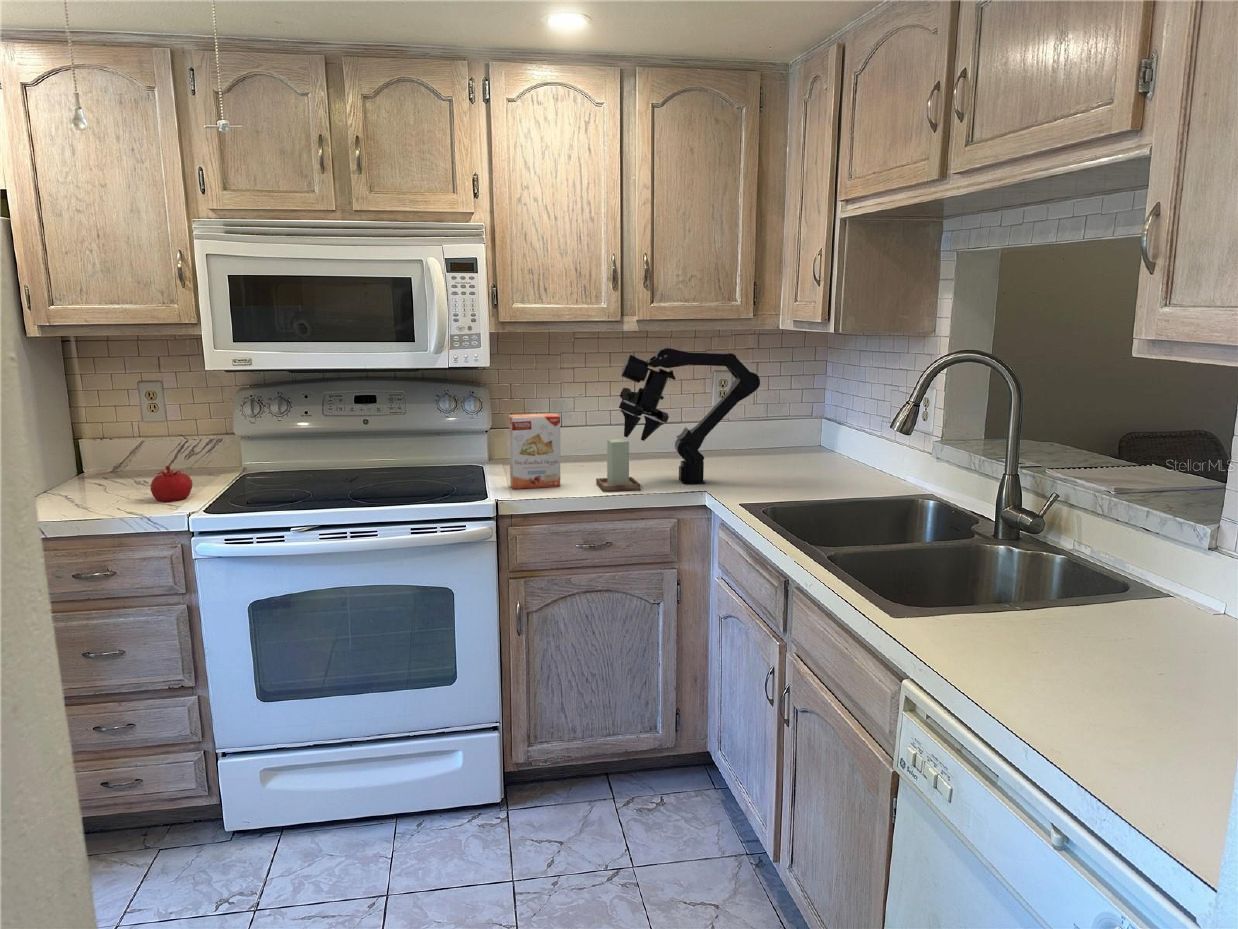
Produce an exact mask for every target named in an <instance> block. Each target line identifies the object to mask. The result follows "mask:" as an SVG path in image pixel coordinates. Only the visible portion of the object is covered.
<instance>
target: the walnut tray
mask: <svg viewBox="0 0 1238 929" xmlns="http://www.w3.org/2000/svg"><path fill="white" fill-rule="evenodd" d="M595 485H596V486H597V487H598V488H599V489H600V490H601V491H602V492H603V493H611V492H612V493H613V492H635V491H637V492H638V491H641V483H640V482H638V480H637V479H635V478H634V476H629V484H623V485H608V484H607V477H600V478H599V477H597V478H596V480H595Z"/></svg>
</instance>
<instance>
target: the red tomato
mask: <svg viewBox="0 0 1238 929" xmlns="http://www.w3.org/2000/svg"><path fill="white" fill-rule="evenodd" d="M165 469H166V471H164V470H162V471H160V472H157V473H156V476H155V477H153V479H152V480H151V482H150V492H151V495H152V497H153V498H154V499H155V500H157V501H159V502H163V503H166V502H175V501H180V500H185V499H186V498H188V497H190V494H191V492H192V488H193V483H194V482H193V480H192V478H191V476H189V475H188V474H185V471H184V470H181V469H180V470H177V471H176V470H175V469H172V470H171V465H165Z"/></svg>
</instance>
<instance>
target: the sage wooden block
mask: <svg viewBox="0 0 1238 929" xmlns="http://www.w3.org/2000/svg"><path fill="white" fill-rule="evenodd" d="M606 447H607V448H606V468H607V469H606V472H607V473H606V476H607V477H606V478H607V484H608V485H623V484H629V477H630V441H628V440H626V439H624V438H614V439H607V440H606Z"/></svg>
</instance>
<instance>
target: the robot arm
mask: <svg viewBox="0 0 1238 929" xmlns="http://www.w3.org/2000/svg"><path fill="white" fill-rule="evenodd" d="M683 366H709V367H711V366H712V367H714V366H715V367H726V369H727V370H728V371H729V373H730V374H731V375H732V377H734V380H733V382H732V383H731V385H730V387H729V389H728V391H727V393H726V394H725V395H724V396H723V397H722V398H721V399H720V400H719V401H718V402H717V403H716V404H715V405H714V406H713V407H712V408H711V409H710V411H708V413H707V414H706V415H704V417H703V418H702V419H701V420H700V421H699V422H698V423H697V424H696V425H694V427H692V428H691V429H689V428H687V427H684V428H683V429H682V431H681V433H680V434H678V435H676V440H675V441H674V449H675V451H676V452H677V454H678V455H679V456H680V457H681V459H682V460H680V465H678V481H679V482H681V483H682V484H684V485H695V484H697V485H698V484H706V481H705V479H704V474H705V473H704V464H705V462H704V460H705V456H704V455H703V454H702V453H701V452H700V451H699V449H700V448H701V446H702V444H703V443H704V441H705V439H706V437H707V436H708V434H710V433H711V431H713V429H714V428H715V427H716V426H717V425H719V423H720V422H721V421H722V420H723V419H724V418H725V417H726V416H727V415H728V413H729V412H731V410H732V409H733V408H734V407H735V406H736V405H737V404H738V403H739V402H741V401H743V400H745V399H746V398H747V397H749V396H751V395H752V394H753V393H754V392H756V391H757V390H758V389H759V388H760V386H761V379H760V377H759V375H758V374H757V373H755V372H752V371H750V370H749V369H748V368H747V367H746V366H745V365H744V364H743V362H741V361H740V359H738V358H737V355H736V354H734V353H732V352H724V353H723V352H722V353H721V352H701V351H699V352H698V351H684V350H681V349H676V348H671V347H668V346H667V347H666V346H662V347H660V348H659V349H657V351H656V352H655V355H654V356H652V357H650V358H648V359H647V360H644V359H641V358H639V357H636V356H635V355H633V354H629V356H628V357H627V359H626V362H625V363H624V366H623V367H622V371H621V374H620V377H622V378H623V379H624V378H625V379H627V380H630V381H632V382H635V383H638V384H639V383H641V381H642V382H644V385H643V387H639V389H638V390H637V391H635V392H634V391H632V390H631V388H628V387H622V389H621V392H620V394H619V398H620V399H621V401H620V402H619V406H618V408H619V409H620V412H621V413H622V415H623V417H624V428H623V437H625V438H629V436H630V435H631V434H632V432H633V430H634V429H635V428H636V426H638V424H639V423H640V421H641V419H642V417H641V416H642V415H643V417H644V420H645V422H644V426H643V429H642V430H643V431H642V433H641V435H640V436H641V437H640V440H641V441H642V442H645V441H646V440H647V439H648V438H649V437H650V436H651V435H652V434H653V433H654V432H655V431H656V430H658V429H659V428H660V427H661V426H663V425H664V423H666V424H667V422H668V420H669V418H670V417H669V413H667V412H665V411H663V410H661V409H659V408H657V407H658V405H659V403H660V400H662V401H663V400H664V398H665V396H664V395H663V392H664V390H665V387H666V385H667V382H668V380H669V379H671V380H673V381H675V380H676V379H677V378H676V377H675V375H674V371H673V370H672V368H677V367H683ZM649 367H650V368H649ZM651 367H652V368H654V369H652V368H651ZM659 367H662V368H659ZM655 368H658V369H657V370H655ZM663 368H665V369H663ZM670 368H671V369H670ZM666 369H670V370H666ZM647 375H648V376H647ZM646 377H647V378H646ZM645 379H646V381H645Z"/></svg>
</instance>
